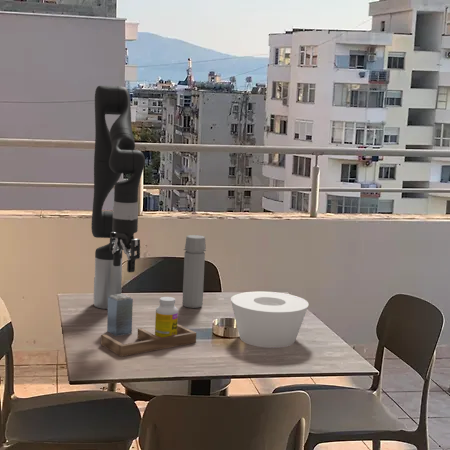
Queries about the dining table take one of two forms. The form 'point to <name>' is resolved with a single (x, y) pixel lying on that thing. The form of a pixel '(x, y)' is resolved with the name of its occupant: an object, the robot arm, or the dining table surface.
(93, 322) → the dining table surface
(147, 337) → the caddy
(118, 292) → the robot arm
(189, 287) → the water bottle
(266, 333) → the white tapered pot
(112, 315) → the slate tin
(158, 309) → the supplement bottle
